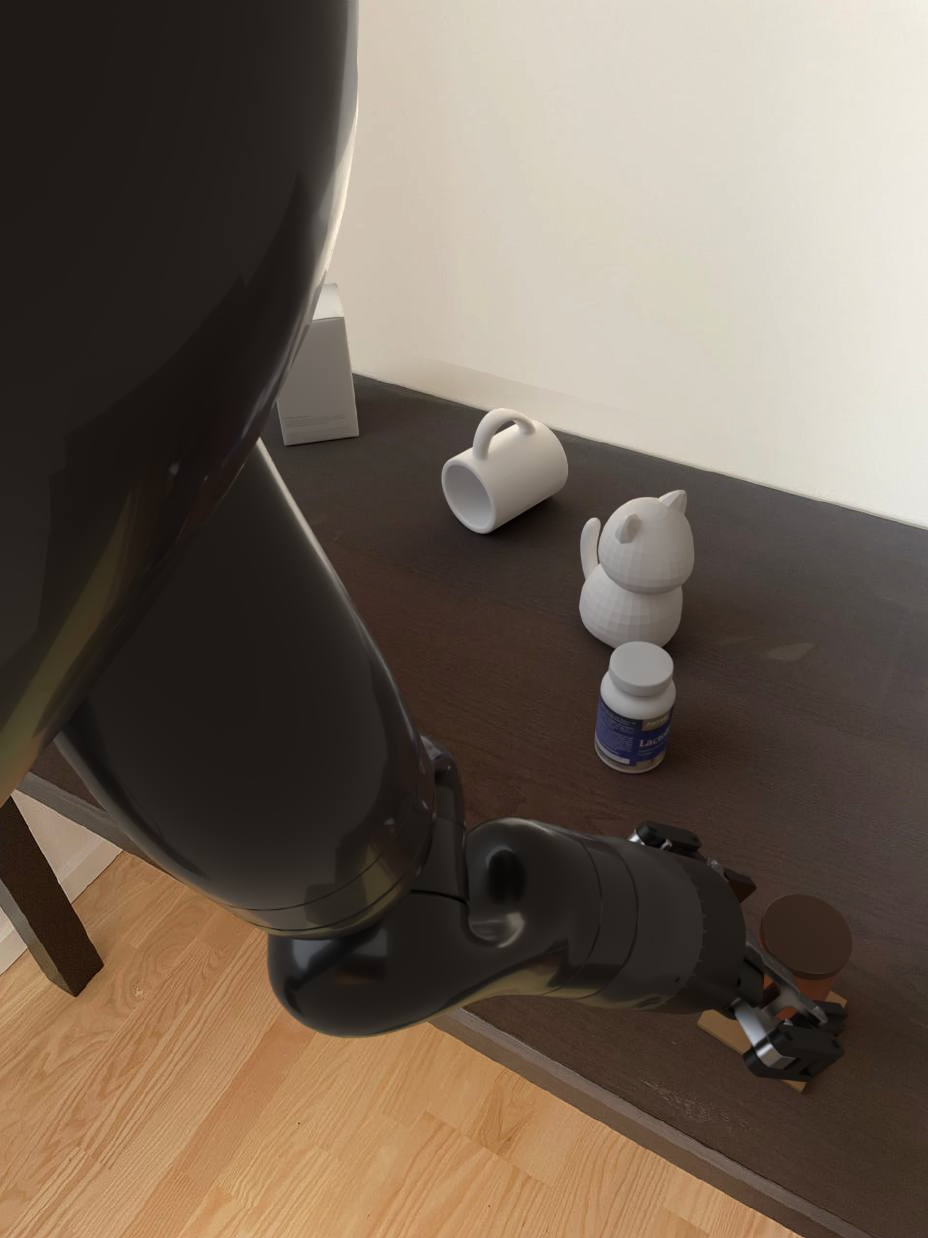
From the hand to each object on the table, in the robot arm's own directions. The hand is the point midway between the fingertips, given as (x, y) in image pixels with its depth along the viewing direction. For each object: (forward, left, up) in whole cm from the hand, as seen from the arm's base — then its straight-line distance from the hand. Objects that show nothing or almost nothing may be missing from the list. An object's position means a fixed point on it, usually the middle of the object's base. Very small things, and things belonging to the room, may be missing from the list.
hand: (784, 953), depth 56 cm
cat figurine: (+26, +26, -9) cm, 38 cm away
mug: (+34, +45, -9) cm, 57 cm away
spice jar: (+1, -1, -8) cm, 8 cm away
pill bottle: (+14, +18, -9) cm, 24 cm away
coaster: (+1, -1, -8) cm, 9 cm away
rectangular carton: (+35, +73, -9) cm, 81 cm away
